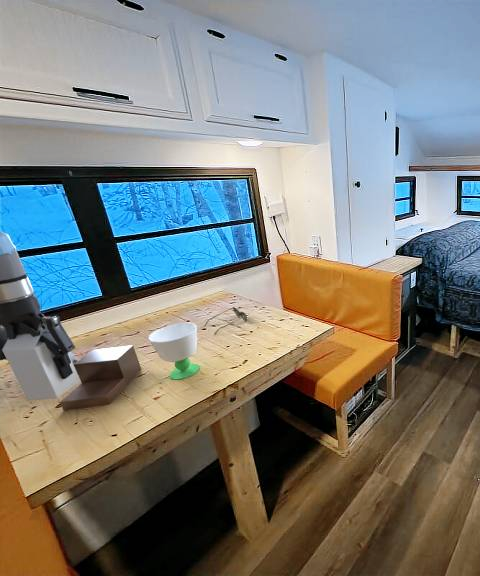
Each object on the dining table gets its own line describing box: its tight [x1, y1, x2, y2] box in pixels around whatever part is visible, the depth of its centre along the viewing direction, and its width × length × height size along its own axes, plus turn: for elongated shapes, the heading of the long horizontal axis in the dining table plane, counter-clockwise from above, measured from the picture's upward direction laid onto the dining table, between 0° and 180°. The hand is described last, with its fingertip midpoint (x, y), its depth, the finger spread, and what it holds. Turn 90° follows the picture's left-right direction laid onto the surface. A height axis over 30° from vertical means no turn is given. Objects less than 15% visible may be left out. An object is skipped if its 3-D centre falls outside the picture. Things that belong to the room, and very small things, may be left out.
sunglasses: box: [204, 306, 248, 335], centre depth 140 cm, size 14×15×5 cm
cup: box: [148, 322, 201, 381], centre depth 104 cm, size 14×14×16 cm
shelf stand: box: [59, 344, 142, 411], centre depth 97 cm, size 12×18×10 cm, turn 11°
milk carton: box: [2, 327, 81, 401], centre depth 78 cm, size 7×7×19 cm
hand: (49, 377), depth 80 cm, fingers closed on milk carton, 7 cm apart
